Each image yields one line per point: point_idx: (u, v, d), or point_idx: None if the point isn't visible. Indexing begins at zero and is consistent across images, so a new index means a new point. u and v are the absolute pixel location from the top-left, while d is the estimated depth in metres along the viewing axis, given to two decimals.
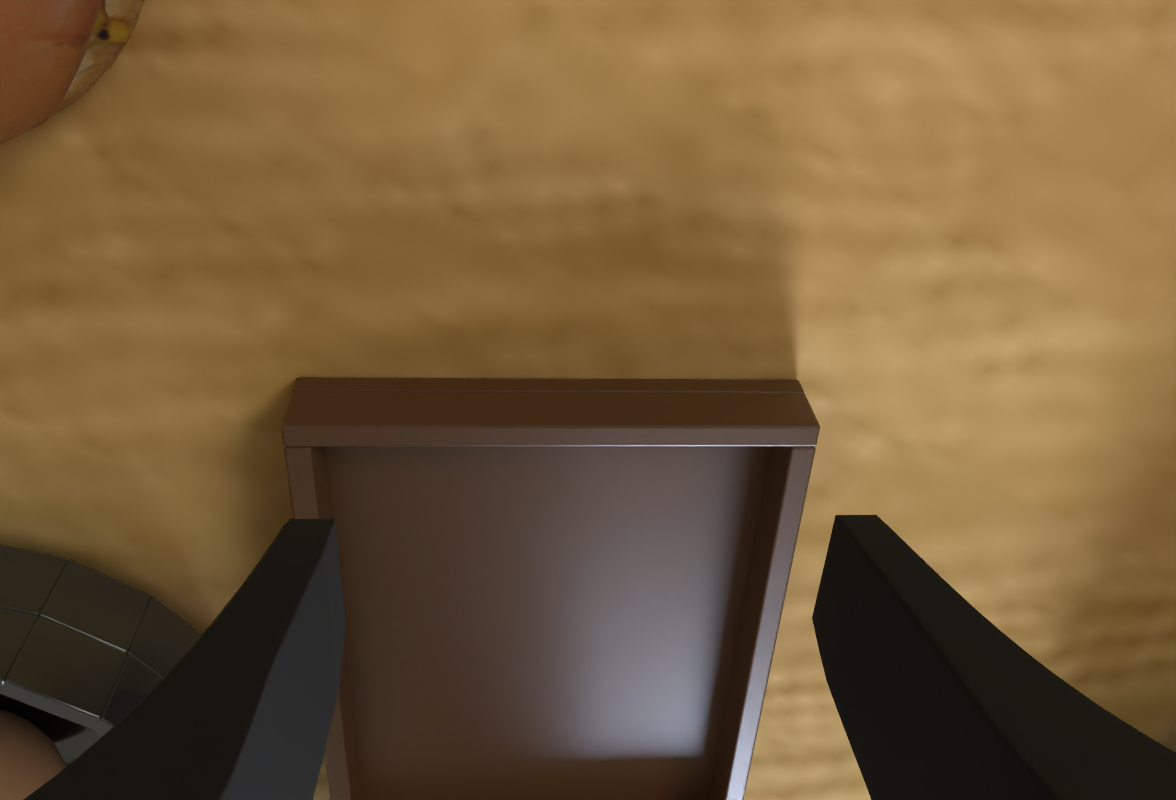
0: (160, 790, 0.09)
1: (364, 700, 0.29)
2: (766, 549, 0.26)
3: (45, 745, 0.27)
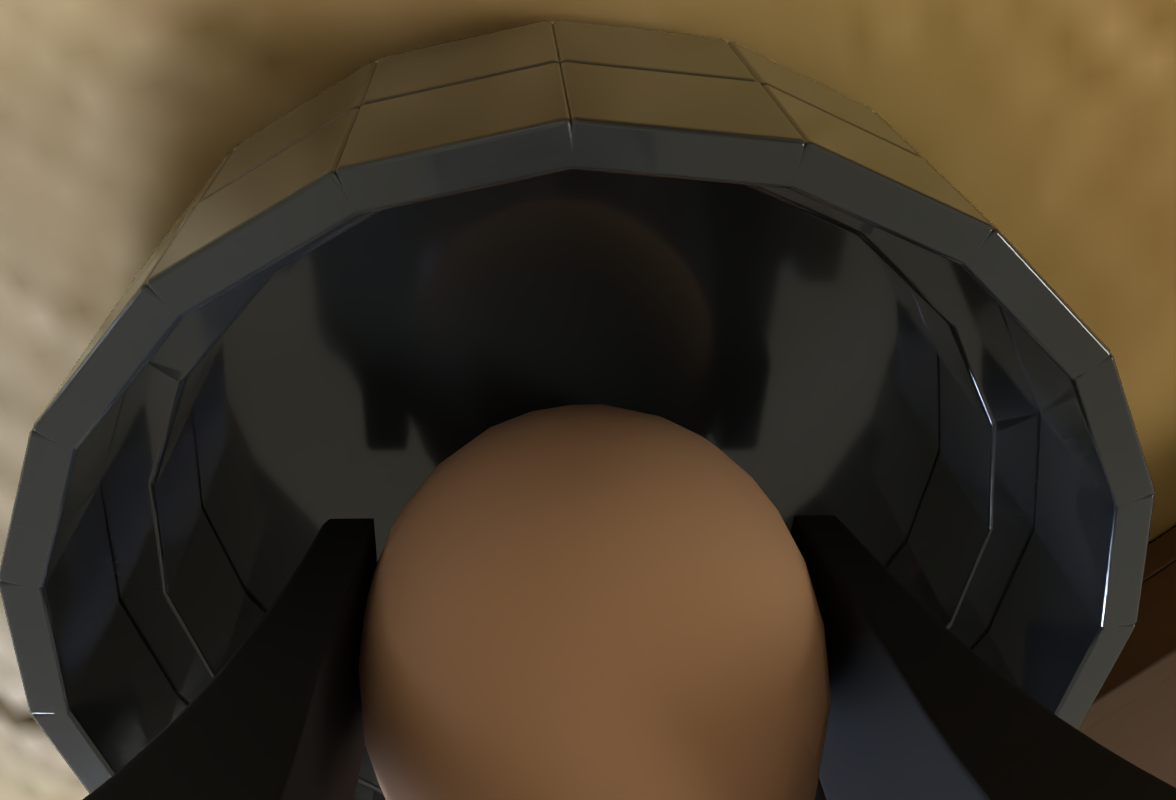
0: (221, 788, 0.09)
1: None
2: None
3: None
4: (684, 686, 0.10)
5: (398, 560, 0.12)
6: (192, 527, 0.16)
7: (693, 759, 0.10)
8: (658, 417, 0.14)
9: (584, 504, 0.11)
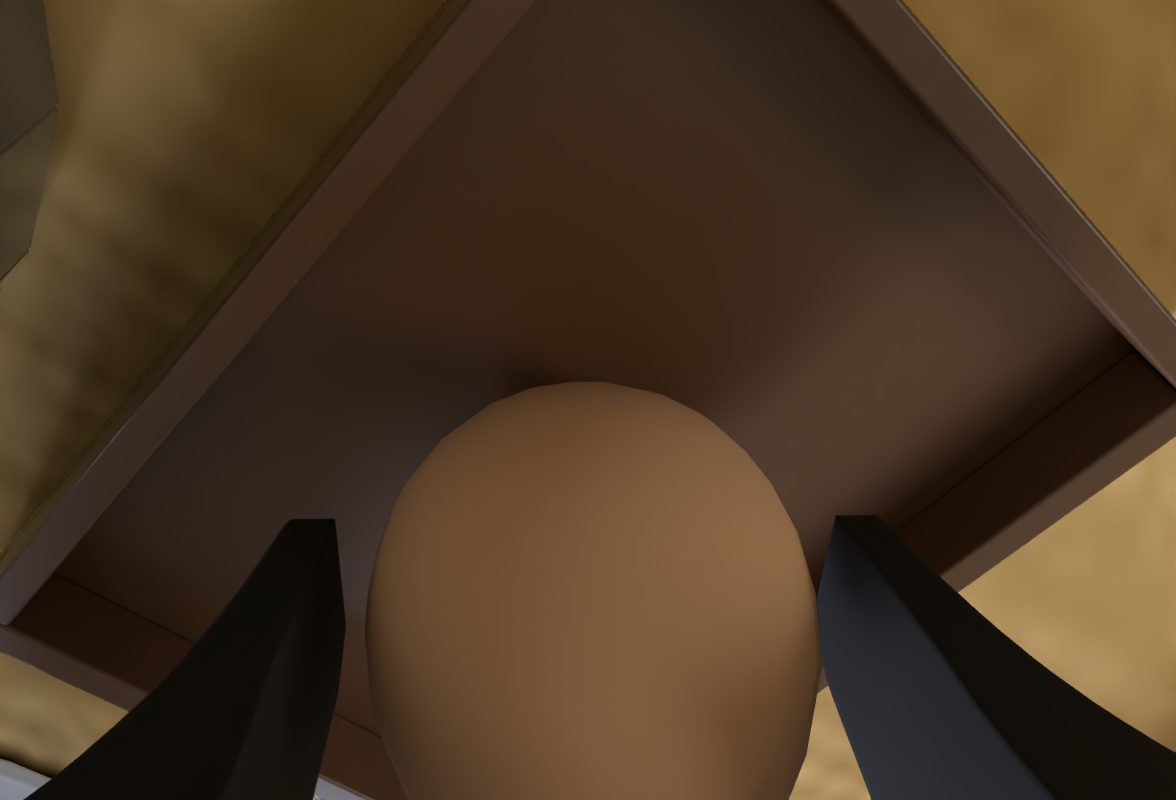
0: (160, 790, 0.09)
1: (226, 384, 0.16)
2: (983, 518, 0.17)
3: None
4: (679, 644, 0.11)
5: (403, 528, 0.13)
6: None
7: (686, 714, 0.10)
8: (654, 393, 0.14)
9: (582, 473, 0.12)
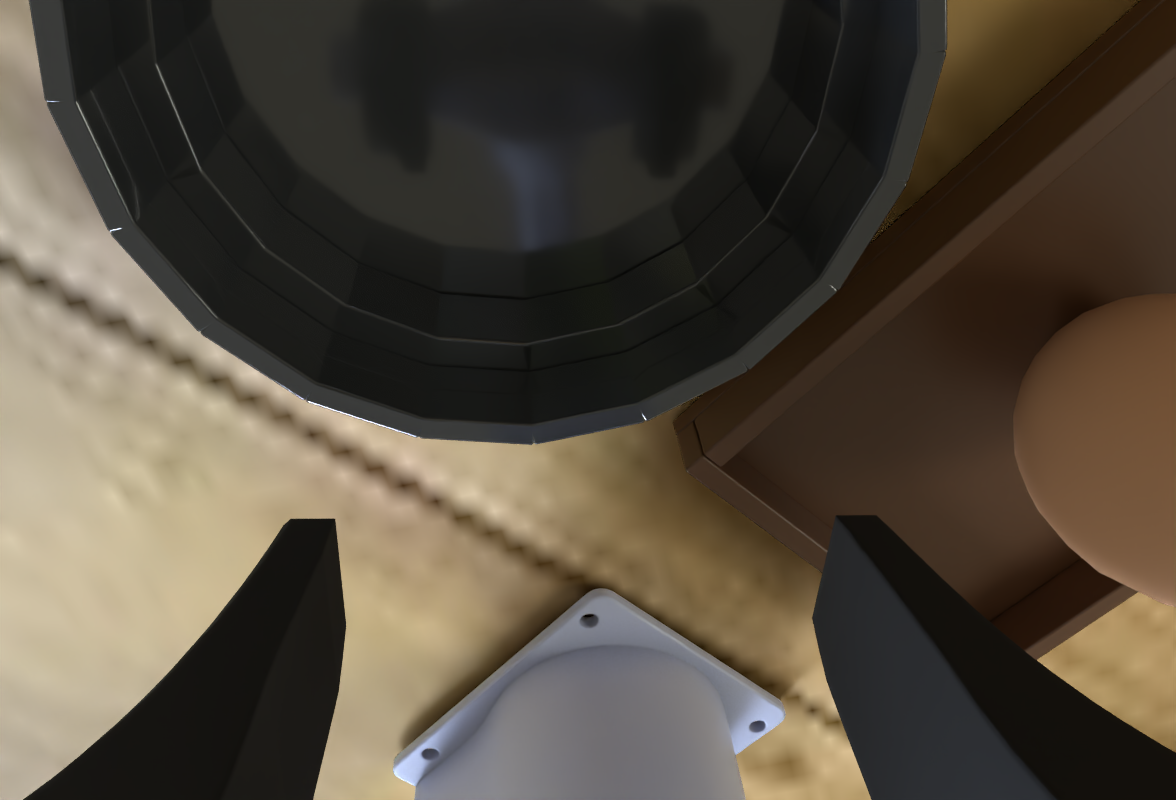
0: (160, 790, 0.09)
1: None
2: None
3: None
4: None
5: (1094, 378, 0.20)
6: (178, 41, 0.19)
7: None
8: None
9: None
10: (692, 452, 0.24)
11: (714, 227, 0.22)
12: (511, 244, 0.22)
